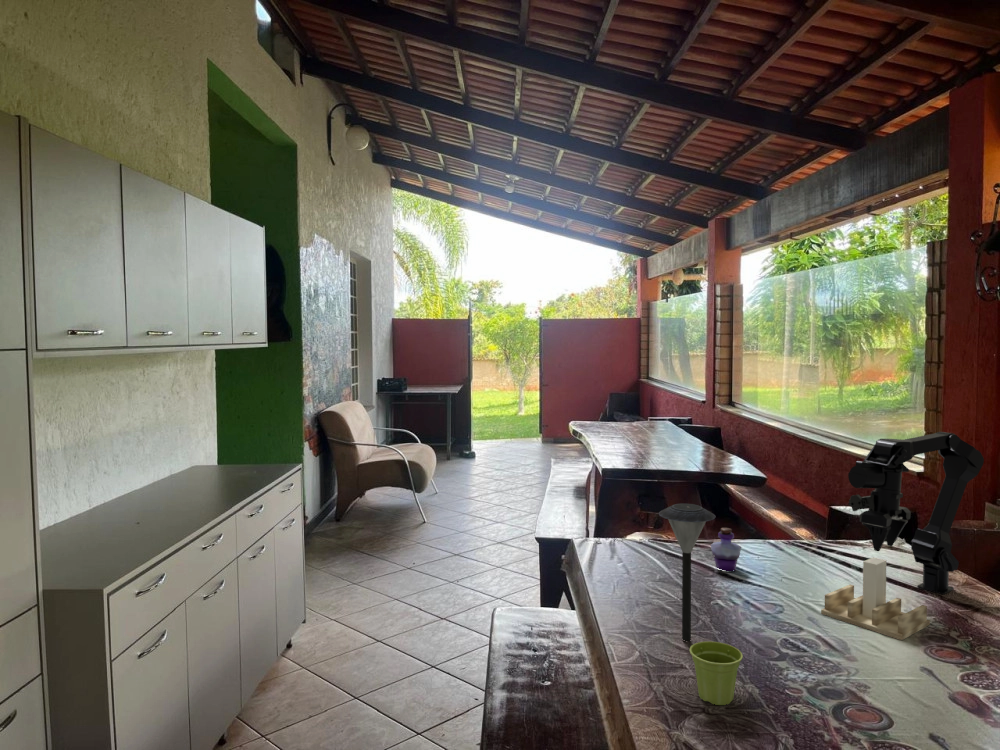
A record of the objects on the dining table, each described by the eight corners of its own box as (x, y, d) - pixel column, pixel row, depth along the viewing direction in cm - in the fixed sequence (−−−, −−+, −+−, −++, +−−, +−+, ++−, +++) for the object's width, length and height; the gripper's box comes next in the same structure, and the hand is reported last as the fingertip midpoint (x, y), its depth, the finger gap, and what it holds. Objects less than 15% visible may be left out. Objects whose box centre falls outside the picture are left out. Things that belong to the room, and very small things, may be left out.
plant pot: (682, 686, 129) (682, 641, 129) (729, 683, 130) (729, 639, 130) (700, 712, 120) (700, 665, 120) (751, 709, 121) (751, 662, 120)
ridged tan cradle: (850, 600, 171) (850, 583, 171) (929, 624, 156) (930, 605, 156) (821, 613, 163) (821, 595, 163) (901, 640, 148) (902, 620, 148)
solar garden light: (685, 657, 141) (685, 516, 140) (646, 635, 152) (646, 504, 150) (727, 645, 147) (728, 509, 145) (687, 624, 157) (688, 498, 156)
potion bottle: (723, 562, 202) (724, 523, 201) (747, 570, 194) (748, 529, 194) (704, 567, 197) (704, 527, 197) (728, 576, 190) (728, 534, 189)
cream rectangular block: (872, 610, 162) (873, 557, 162) (885, 614, 160) (886, 560, 159) (862, 615, 159) (863, 561, 159) (875, 619, 157) (876, 564, 156)
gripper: (867, 480, 185) (863, 536, 185) (840, 485, 172) (836, 545, 173) (913, 487, 177) (908, 546, 177) (888, 493, 164) (883, 556, 164)
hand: (883, 548), depth 173 cm, fingers open, 9 cm apart
